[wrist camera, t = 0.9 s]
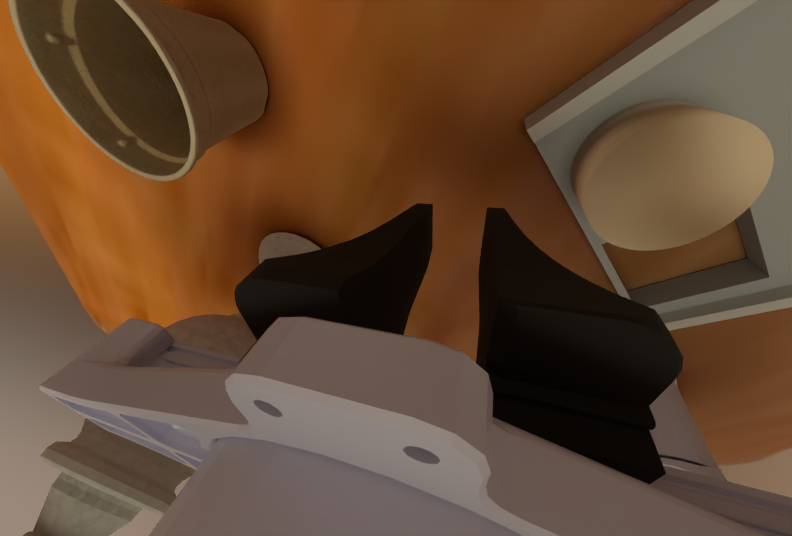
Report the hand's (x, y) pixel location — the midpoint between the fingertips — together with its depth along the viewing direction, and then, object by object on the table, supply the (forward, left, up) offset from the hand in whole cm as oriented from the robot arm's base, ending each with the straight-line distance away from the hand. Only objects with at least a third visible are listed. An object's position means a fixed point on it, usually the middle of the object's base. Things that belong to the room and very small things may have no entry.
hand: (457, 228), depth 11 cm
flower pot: (+13, +13, -11) cm, 21 cm away
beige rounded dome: (-4, -8, -8) cm, 12 cm away
